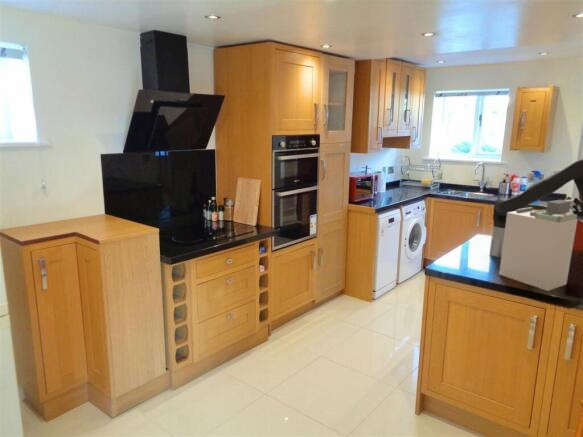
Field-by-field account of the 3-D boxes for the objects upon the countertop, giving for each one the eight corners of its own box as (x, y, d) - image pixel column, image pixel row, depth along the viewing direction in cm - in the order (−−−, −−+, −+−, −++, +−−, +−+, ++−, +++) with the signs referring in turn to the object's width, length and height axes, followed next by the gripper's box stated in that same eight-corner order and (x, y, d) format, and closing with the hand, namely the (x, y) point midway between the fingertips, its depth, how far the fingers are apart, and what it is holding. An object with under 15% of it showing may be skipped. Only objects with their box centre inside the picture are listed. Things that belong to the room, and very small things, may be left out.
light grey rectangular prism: (570, 207, 204) (571, 197, 203) (581, 209, 200) (583, 199, 199) (546, 212, 194) (547, 201, 193) (557, 214, 190) (559, 203, 189)
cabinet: (517, 268, 220) (526, 205, 213) (566, 284, 200) (578, 214, 192) (499, 274, 213) (507, 208, 205) (547, 290, 192) (559, 218, 185)
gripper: (572, 204, 214) (559, 189, 204) (603, 209, 202) (590, 194, 193) (566, 217, 213) (552, 203, 204) (597, 223, 202) (584, 208, 192)
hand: (571, 199), depth 198 cm, fingers closed on light grey rectangular prism, 2 cm apart
